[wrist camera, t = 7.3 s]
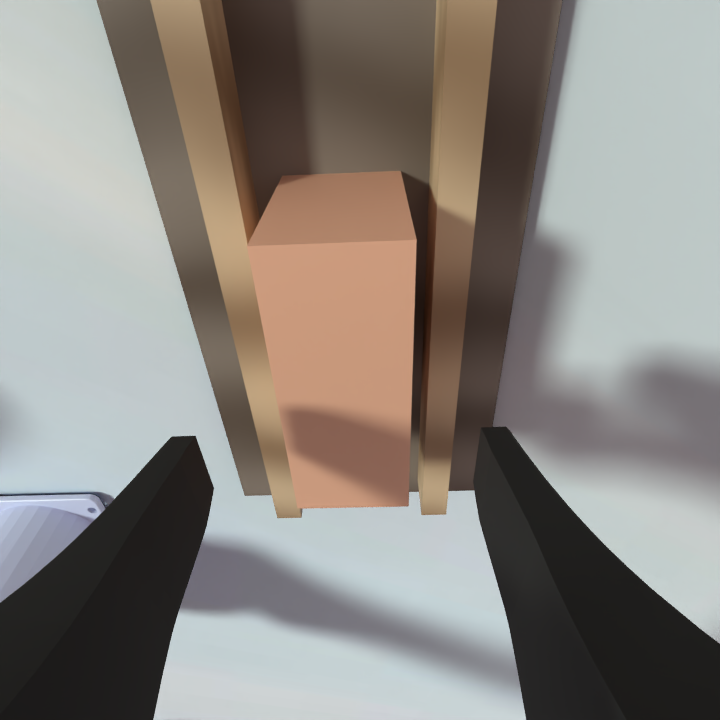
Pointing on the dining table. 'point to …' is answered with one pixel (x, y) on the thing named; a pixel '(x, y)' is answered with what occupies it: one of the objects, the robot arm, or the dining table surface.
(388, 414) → the block
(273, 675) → the dining table surface
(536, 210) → the dining table surface
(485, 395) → the wooden stand
